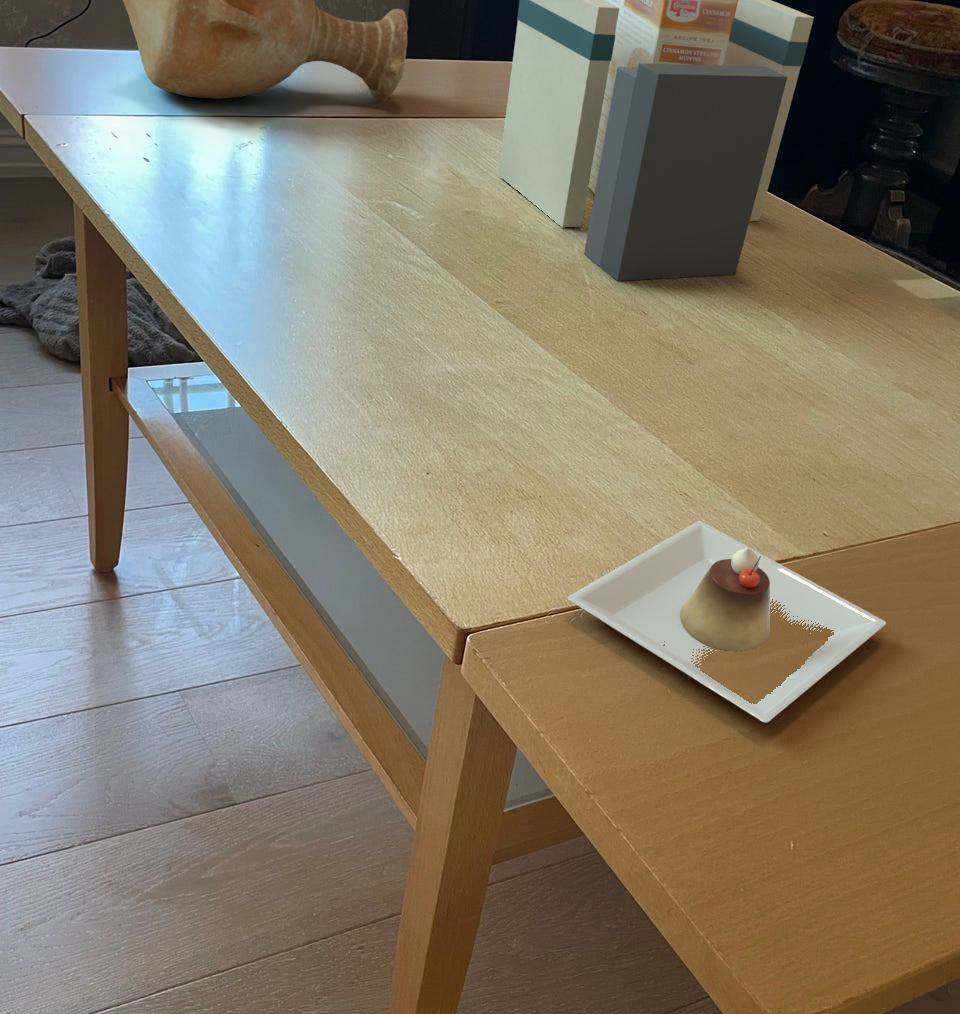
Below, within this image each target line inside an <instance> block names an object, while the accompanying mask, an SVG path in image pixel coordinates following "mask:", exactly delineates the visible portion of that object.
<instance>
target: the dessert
mask: <svg viewBox="0 0 960 1014" xmlns="http://www.w3.org/2000/svg"><path fill="white" fill-rule="evenodd" d="M772 599H773V603H774V602H775V601H776V600H777V602H776V603H775V604H774V606H775V605H776V604H777V603H778V602H780V603H778V606H779V605H780V604H781V606H780V607H779V608H778V610H779V609H780V608H781V607H782V606H783V605H785V606H783V607H782V609H781V611H782V610H783V609H784V608H785V609H784V610H783V611H782V612H783V614H784V613H785V611H786V614H785V615H784V616H783V618H784V617H785V616H786V615H787V614H788V613H789V614H788V615H787V618H788V617H789V616H790V617H789V618H788V619H787V618H786V619H787V621H789V620H790V619H791V621H790V622H792V621H793V620H795V622H796V621H797V620H798V622H800V621H801V620H802V621H801V622H800V623H799V625H800V624H801V623H802V622H803V621H804V620H805V621H804V622H803V623H802V626H803V625H804V624H805V623H806V626H807V625H808V624H809V627H810V626H811V625H812V624H813V623H814V624H813V627H814V626H815V625H816V624H818V623H819V624H818V625H816V627H818V626H819V625H821V626H820V628H821V627H823V626H824V627H823V629H824V628H826V627H827V629H830V630H834V631H832V632H834V635H832V636H830V637H828V641H826V642H825V644H824V645H822V646H821V647H820V648H819V649H817V650H816V651H815V652H814V653H813V654H812V656H810V657H808V658H809V659H807V660H806V661H805V664H804V665H802V666H801V668H800V669H797V671H796V672H794V673H793V674H791V675H789V677H787V678H786V680H785V681H784V682H783V683H782V684H781V686H778V687H776V689H774V690H773V692H771V694H767V695H766V696H765V698H764V699H761V701H759V702H758V703H757V704H753V703H752V704H751V703H749V702H748V701H746V700H744V699H743V698H742V697H740V696H739V695H737V694H736V693H734V692H732V691H731V690H729V689H727V688H726V687H724V686H723V685H721V684H720V683H718V682H717V681H715V680H714V679H712V678H711V677H709V676H708V675H706V674H705V673H703V672H702V671H700V668H697V667H695V664H698V663H699V662H701V661H698V660H695V659H697V658H699V657H701V656H702V655H704V654H701V653H703V652H705V651H706V650H708V649H710V648H712V647H713V649H715V648H716V649H720V650H724V651H735V652H737V651H740V652H742V651H743V650H744V651H746V650H750V649H755V648H757V647H759V646H761V645H762V644H764V643H765V642H766V641H767V640H768V638H769V636H770V606H771V605H772V604H773V603H771V604H770V602H771V601H772ZM567 600H568V601H569V602H570V603H572V604H574V605H575V606H577V607H579V608H580V609H581V610H584V612H586V613H588V614H589V615H592V616H593V617H595V618H596V619H598V620H599V621H601V622H603V623H604V624H605V625H607V626H608V627H610V628H612V629H614V630H615V631H617V632H618V633H620V634H622V635H623V636H624V637H626V638H628V639H630V640H631V641H632V642H634V643H636V644H638V645H639V646H641V647H642V648H644V649H646V650H647V651H649V652H650V653H652V654H654V655H655V656H656V657H659V658H660V659H662V660H663V661H665V662H667V663H668V664H670V666H673V668H676V669H678V670H679V671H680V672H682V673H684V674H685V675H687V676H688V677H690V678H692V679H693V680H695V681H697V682H698V683H700V684H702V686H704V687H706V688H707V689H709V690H711V691H713V692H714V693H715V694H717V695H719V696H721V697H722V698H723V699H725V700H727V701H729V702H730V703H731V704H733V705H734V706H736V707H738V708H739V709H741V710H743V711H744V712H746V713H748V714H749V715H750V716H752V717H753V718H755V719H757V720H759V721H760V722H762V723H765V724H767V723H769V722H770V721H772V719H774V718H775V717H776V716H777V715H778V714H780V713H781V712H782V711H783V710H784V709H786V708H788V707H789V705H791V704H792V703H793V702H794V701H795V700H797V699H798V698H799V697H800V696H801V695H803V694H804V693H806V691H807V690H809V689H810V688H811V687H812V686H814V685H815V684H816V683H817V682H818V681H819V680H821V679H822V678H823V677H824V676H825V675H826V674H828V673H829V672H831V670H832V669H834V668H835V667H836V666H837V665H839V664H840V663H841V662H843V661H844V660H845V659H846V658H847V657H849V656H850V655H851V654H852V653H853V652H854V651H856V650H857V649H858V648H859V647H861V646H862V645H863V644H864V643H866V642H867V640H869V639H870V638H871V637H872V636H874V635H875V634H876V633H878V632H879V631H880V630H881V629H883V627H884V626H886V625H887V622H886V621H885V620H884V619H882V618H880V617H878V616H876V615H874V614H872V613H871V612H869V611H867V610H865V609H863V608H862V607H860V606H858V605H856V604H854V603H852V602H851V601H849V600H847V599H845V598H843V597H842V596H839V595H838V594H836V593H834V592H832V591H831V590H829V589H827V588H825V587H823V586H821V585H820V584H817V582H814V581H812V580H810V579H808V578H806V577H805V576H803V575H801V574H799V573H797V572H796V571H794V570H792V569H790V568H788V567H786V566H785V565H783V564H781V563H779V562H777V561H775V560H773V559H772V558H770V557H768V556H766V555H764V554H763V553H761V552H759V551H757V550H756V549H753V548H752V547H750V546H748V545H746V544H744V543H742V542H740V541H739V540H737V539H735V538H733V537H731V536H730V535H727V534H726V533H724V532H722V531H721V530H719V529H717V528H715V527H713V526H711V525H709V524H707V523H705V522H704V521H703V520H696V521H695V522H694V523H692V524H690V525H689V526H687V527H685V528H683V529H681V530H680V531H677V532H676V533H675V534H673V535H671V536H669V537H668V538H666V539H665V540H663V541H661V542H659V543H658V544H655V545H654V546H652V547H651V548H649V549H647V550H645V551H643V552H641V553H640V554H639V555H637V556H635V557H633V558H632V559H630V560H628V561H626V562H624V563H623V564H621V565H619V566H617V567H616V568H615V569H613V570H611V571H609V572H608V573H606V574H604V575H603V576H601V577H599V578H597V579H596V580H594V581H592V582H591V583H589V584H587V585H586V586H584V587H582V588H580V589H578V590H577V591H575V592H573V593H572V594H570V595H568V596H567ZM774 606H773V607H774ZM778 606H777V607H778ZM773 607H771V609H772V608H773ZM777 607H775V608H774V609H776V608H777ZM773 611H774V610H773ZM773 611H772V612H773ZM781 611H780V612H781ZM789 611H790V612H789ZM772 612H771V613H772ZM776 612H777V611H776ZM776 612H775V613H776ZM780 612H779V613H780ZM783 614H782V615H783ZM782 615H781V616H782ZM781 616H780V617H781ZM793 616H794V617H793ZM797 616H798V617H797ZM786 619H785V620H786ZM808 620H809V621H808ZM811 621H812V622H811ZM790 622H789V623H790ZM795 622H793V623H795ZM798 622H797V623H798ZM815 622H816V623H815ZM793 623H791V625H792V624H793ZM797 623H796V624H797ZM796 624H795V625H796ZM806 626H805V627H806ZM805 627H804V628H805ZM809 627H807V628H806V630H807V629H808V628H809ZM813 627H811V628H810V630H811V629H812V628H813ZM804 628H803V629H804ZM815 629H816V628H814V629H813V631H814V630H815ZM818 630H819V629H818ZM818 630H817V631H818ZM821 631H822V630H821ZM821 631H820V632H821ZM832 632H831V633H832ZM810 634H811V633H810ZM664 641H665V642H664ZM703 643H704V644H703ZM664 644H665V646H663V645H664ZM703 646H705V647H703ZM708 646H711V647H709V648H707V647H708ZM705 648H706V649H705ZM693 649H694V650H693ZM698 649H700V650H698ZM703 649H705V651H701V650H703ZM713 649H710V651H712V650H713ZM696 650H697V651H696ZM699 651H700V653H698V652H699ZM710 651H708V652H710ZM715 651H717V650H715ZM692 652H694V653H692ZM708 652H705V654H706V653H708ZM696 653H697V654H696ZM712 653H713V652H712ZM710 654H711V653H710ZM692 655H694V656H692ZM697 655H699V656H698V657H695V656H697ZM706 656H708V655H706ZM706 656H704V657H706ZM704 657H703V658H704ZM691 658H693V659H691ZM700 659H702V658H699V660H700ZM693 660H694V661H693ZM704 660H705V659H704ZM691 661H693V662H691ZM696 661H698V663H695V664H693V663H694V662H696ZM699 665H701V664H699ZM699 665H698V666H699Z"/></svg>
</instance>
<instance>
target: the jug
mask: <svg viewBox="0 0 960 1014" xmlns="http://www.w3.org/2000/svg"><path fill="white" fill-rule="evenodd" d="M122 2H123V4H124V7H125V9H126V11H127V14H128V18H129V21H130V25H131V28H132V32H133V35H134V38H135V41H136V44H137V48H138V53H139V56H140V61H141V63H142V67H143V70H144V72H145V74H146V76H147V77H146V78H148V80H149V81H150V82H151V84H152V85H154V86H155V87H158V88H159V89H161V90H163V91H164V92H168V93H173V94H176V95H180V96H184V97H187V98H188V97H189V98H198V99H216V100H221V99H222V100H223V99H229V98H231V99H233V98H241V97H247V96H252V95H256V94H260V93H264V92H266V91H268V90H270V89H272V88H274V87H276V86H277V85H279V84H280V83H282V82H283V81H285V80H286V79H288V78H289V77H290V76H291V75H292V74H293V73H294V72H295V71H296V70H297V69H298V68H300V66H302V65H304V64H307V63H312V62H323V63H324V62H325V63H329V64H334V65H335V66H339V67H341V68H342V69H344V70H346V71H349V72H350V73H352V74H354V75H356V76H357V77H359V78H360V79H362V81H363V82H364V84H365V85H366V86H367V87H368V90H369V92H370V95H371V96H373V97H372V98H373V100H375V101H376V100H377V101H376V102H378V101H379V103H383V102H385V101H387V99H389V97H390V96H391V95H392V94H393V93H394V92H395V90H396V89H397V87H398V85H399V83H400V81H402V78H403V75H404V70H405V64H406V57H407V47H408V30H409V26H408V19H407V15H406V13H405V11H404V10H403V9H401V8H394V9H392V10H390V11H389V12H387V13H386V14H385V15H384V16H383V17H382V19H379V20H376V21H354V20H348V19H344V18H339V17H336V16H334V15H333V14H330V13H328V12H325V11H323V10H322V9H320V8H319V7H318V6H317V4H316V2H315V1H314V0H122Z"/></svg>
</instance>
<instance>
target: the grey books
mask: <svg viewBox="0 0 960 1014" xmlns="http://www.w3.org/2000/svg"><path fill="white" fill-rule="evenodd" d="M786 81H787V76H784V75H782V74H780V73H778V72H776V71H774V70H772V69H770V68H767V67H757V66H721V65H684V64H648V63H639V66H638V67H617V72H616V78H615V83H614V89H613V95H612V100H611V106H610V111H609V117H608V123H607V128H606V134H605V139H604V145H603V151H602V156H601V162H600V167H599V173H598V178H597V184H596V190H595V194H594V196H593V201H592V207H591V212H590V217H589V218H590V219H589V223H588V229H587V234H586V240H585V241H586V242H585V245H584V246H585V247H584V252H583V255H585V256H586V257H587V258H589V259H590V260H591V261H592V262H593V263H594V264H596V265H597V266H599V267H600V268H601V269H602V270H603V271H604V272H606V273H607V274H608V275H609V276H610V277H612V278H613V279H614V280H615V281H617V282H620V281H621V282H622V281H623V282H624V281H641V280H642V281H643V280H658V279H659V280H661V279H676V278H677V279H678V278H679V279H680V278H692V277H693V278H694V277H710V276H711V277H712V276H727V275H728V276H729V275H730V276H731V275H736V274H737V270H738V266H739V262H740V259H741V254H742V252H743V251H742V250H743V248H744V243H745V240H746V236H747V232H748V229H749V224H750V222H751V221H750V217H751V213H752V210H753V206H754V202H755V198H756V194H757V191H758V187H759V183H760V179H761V176H762V172H763V168H764V164H765V160H766V157H767V153H768V149H769V145H770V141H771V138H772V134H773V130H774V126H775V123H776V119H777V115H778V111H779V107H780V104H781V100H782V96H783V92H784V88H785V85H786Z"/></svg>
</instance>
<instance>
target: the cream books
mask: <svg viewBox="0 0 960 1014" xmlns="http://www.w3.org/2000/svg"><path fill="white" fill-rule="evenodd" d="M618 14H619V8H618V7H616V6H614V5H612V4H610V3H608V2H606V1H604V0H519V1H518V10H517V18H516V19H517V24H516V31H515V32H516V33H515V41H514V46H513V47H514V49H513V56H512V63H511V71H510V79H509V88H508V95H507V103H506V111H505V119H504V126H503V136H502V141H501V150H500V158H499V166H498V175H499V176H500V177H501V178H502V179H504V180H505V181H507V183H509V184H510V185H511V186H513V187H514V188H515V189H516V190H518V191H519V192H520V193H521V194H522V195H523V196H525V197H526V198H527V199H528V200H529V201H531V202H532V203H533V204H534V205H536V206H537V207H538V208H539V209H540V210H539V209H538V208H537V207H536V206H535V207H536V208H537V209H538V210H539V211H541V210H542V211H543V212H544V213H545V214H544V213H543V212H542V211H541V212H542V213H543V214H544V215H545V216H547V215H548V216H549V217H550V218H549V217H548V216H547V217H548V218H549V219H551V220H552V221H553V220H554V221H555V222H554V221H553V222H554V223H556V224H557V225H558V226H559V225H560V226H559V227H561V228H562V229H566V228H565V227H575V228H582V225H583V220H584V214H585V209H586V202H587V197H588V190H589V187H588V186H589V180H590V174H591V168H592V163H593V157H594V151H595V146H596V140H597V134H598V128H599V123H600V117H601V111H602V105H603V100H604V94H605V88H606V83H607V77H608V71H609V65H610V61H611V59H612V53H613V48H614V42H615V36H616V35H615V31H616V25H617V20H618ZM814 19H815V17H814V16H811V15H809V14H807V13H804V12H801V11H799V10H796V9H794V8H791V7H789V6H786V5H784V4H782V3H779V2H777V1H774V0H738V4H737V8H736V12H735V16H734V20H733V25H732V29H731V33H730V37H729V42H728V46H727V50H726V55H725V59H724V63H723V66H757V67H767V68H770V69H772V70H774V71H776V72H778V73H780V74H782V75H784V76H787V81H786V85H785V88H784V92H783V96H782V100H781V104H780V107H779V111H778V115H777V119H776V123H775V126H774V130H773V134H772V138H771V141H770V145H769V149H768V153H767V157H766V160H765V164H764V168H763V172H762V176H761V179H760V183H759V187H758V191H757V194H756V198H755V202H754V206H753V210H752V213H751V217H750V221H749V222H759V221H760V219H761V216H762V211H763V208H764V204H765V201H766V198H767V192H768V189H769V186H770V182H771V179H772V176H773V172H774V167H775V163H776V160H777V156H778V152H779V149H780V145H781V142H782V138H783V135H784V131H785V127H786V124H787V123H786V122H787V120H788V115H789V111H790V108H791V105H792V101H793V98H794V93H795V90H796V85H797V83H798V79H799V75H800V72H801V71H800V70H801V68H802V66H803V63H804V59H805V55H806V52H807V48H808V44H809V38H810V34H811V30H812V27H813V26H812V25H813V22H814ZM498 175H497V176H498ZM501 178H500V179H501ZM502 179H501V180H502ZM507 183H506V184H507ZM511 186H510V187H511ZM516 190H515V191H516ZM521 194H520V195H521ZM522 195H521V196H522ZM523 196H522V197H523ZM526 198H525V199H526ZM527 199H526V200H527ZM528 200H527V201H528ZM529 201H528V202H529ZM531 202H530V203H531ZM532 203H531V204H532ZM533 204H532V205H533ZM534 205H533V206H534Z"/></svg>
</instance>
